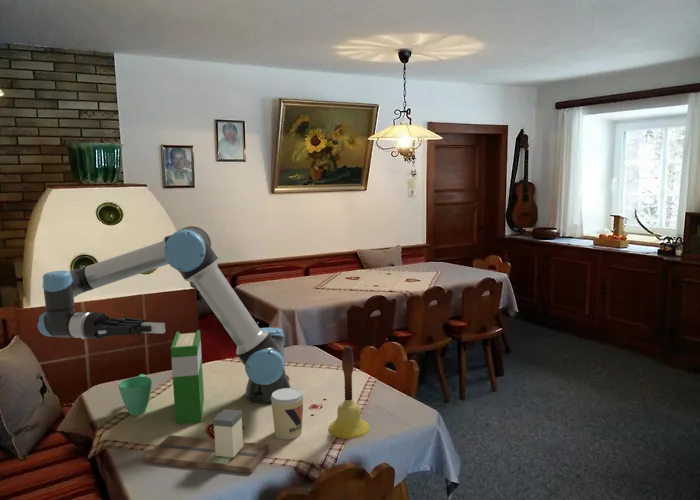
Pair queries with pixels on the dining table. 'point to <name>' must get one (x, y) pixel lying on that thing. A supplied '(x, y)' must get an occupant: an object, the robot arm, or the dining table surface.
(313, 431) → the dining table surface
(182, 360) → the hardback book
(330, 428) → the handbell
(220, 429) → the fader knob
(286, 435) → the coffee cup
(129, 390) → the mug
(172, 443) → the fader track
